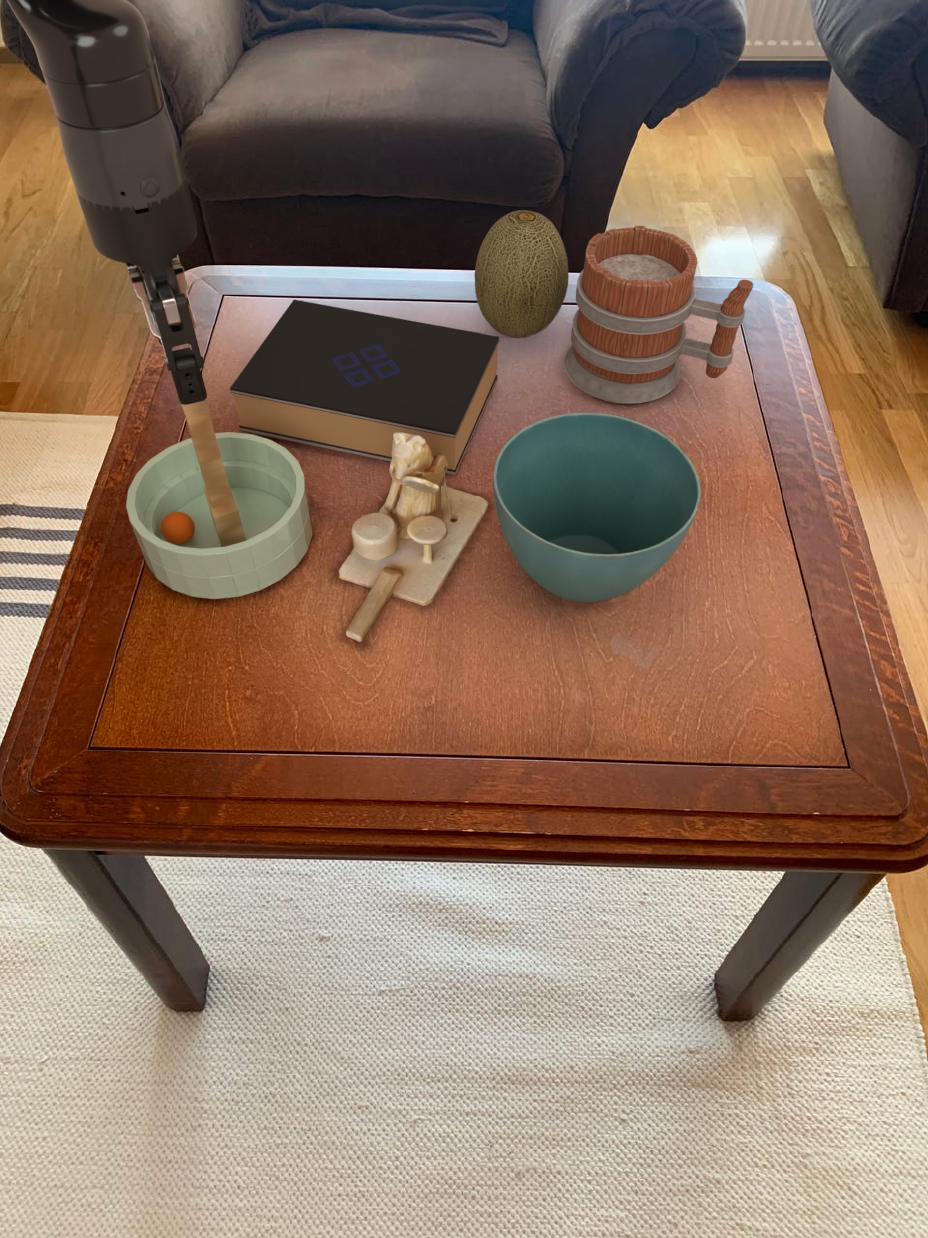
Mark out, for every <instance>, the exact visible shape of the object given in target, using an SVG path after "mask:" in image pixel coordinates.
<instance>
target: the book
mask: <svg viewBox="0 0 928 1238" xmlns="http://www.w3.org/2000/svg"><path fill="white" fill-rule="evenodd" d="M499 344H500V336H498V335H493V334H487V333H481V332H476V331H471V330H464V329H461V328H454V327H448V326H443V325H438V324H431V323H427V322H421V321H417V320H416V321H415V320H409V319H404V318H399V317H392V316H388V315H383V314H376V313H371V312H365V311H359V310H354V309H348V308H343V307H338V306H332V305H326V304H321V303H317V302H310V301H304V300H300V299H293V300H292V301H291V303H290V304H289V306H288V307H287V308H286V310H285V311H284V312H283V314H281V317H280V318H279V319H278V321H276V323H275V325H274V326H273V327H272V328H271V331H270V332H269V333H268V334H267V336H266V337H265V338H264V340H263V341H262V342H261V344H260V345H259V347H258V348H257V350H256V351H255V352H254V353H253V355H252V356H251V358H250V359H249V361H248V362H247V364H246V365H245V366H244V368H243V369H242V371H241V372H240V373H239V375H238V376H237V377H236V379H235V380H234V382H233V383H232V384H231V386H230V387H229V391H230V393H231V394H232V395H233V400H234V404H235V408H236V413H237V417H238V421H239V425H238V428H239V432H243V433H247V434H253V435H257V436H261V437H262V436H263V437H268V438H272V439H277V440H281V441H287V442H291V443H296V444H300V445H304V446H305V445H306V446H310V447H315V448H320V449H325V450H330V451H335V452H338V453H339V452H340V453H344V454H348V455H349V454H350V455H352V456H353V455H354V456H359V457H364V458H369V459H373V460H377V461H378V460H379V461H383V462H387V463H391V461H392V445H393V439H394V438H393V434H394V433H395V432H400V431H401V432H406V433H408V434H415V435H419V436H421V437H423V438H424V439H425V440H426V442H427V444H428V445H429V447H430V448H431V451H432V453H433V455H434V456H436V455H437V454H439V453H442V454H443V455H445V457H446V459H447V462H448V467H447V472H446V474H445V475H449V476H454V477H456V476H457V473H458V471H459V469H460V466H461V464H462V461H463V460H464V457H465V455H466V454H467V451H468V448H469V446H470V444H471V441H472V439H473V437H474V434H475V432H476V430H477V428H478V426H479V423H480V421H481V419H482V416H483V415H484V411H485V410H486V407H487V405H488V404H489V403H488V402H489V400H490V398H491V395H492V394H493V391H494V389H495V386H496V384H497V382H498V380H499V378H498V377H499V375H498V374H497V370H498V346H499Z"/></svg>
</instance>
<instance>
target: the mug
mask: <svg viewBox="0 0 928 1238" xmlns="http://www.w3.org/2000/svg"><path fill="white" fill-rule="evenodd" d="M697 267H698V256H697V255H696V252H695V251H694V249H693V248H692V247H691V246H690V244H688V243H687V242H686V241H685V240H684V239H683V238H681V237H679V236H678V235H675V234H673V233H670V232H666V231H662V230H659V229H655V228H648V227H646V225H639V224H638V225H636V224H635V225H634V226H633V227H632V226H631V227H621V228H615V227H614V228H611V229H606V230H605V232H603V233H600V232H598V233H597V234H595V235H594V236H592V237H591V239H589V241H588V244H587V247H586V249H585V257H584V265H583V269H582V270H581V271H580V273H579V275H578V276H577V279H576V290H575V302H576V306H577V307H578V309H577V311H576V312H575V313H574V316H573V318H572V324H571V330H570V331H571V332H570V340H571V343H572V345H570V347H569V348H568V350H567V351H566V353H565V356H564V359H563V368H564V370H565V373H566V375H567V377H568V378H569V381H571V382H572V383H573V385H574V386H576V387H577V388H578V389H579V390H581V391H582V392H583V393H585V394H586V395H589V396H590V397H593V398H595V399H597V400H600V401H603V402H605V403H610V404H616V405H640V404H645V403H650V402H652V401H655V400H658V399H660V398H663V397H664V396H666V395H667V394H669V393H671V392H672V391H673V390H674V389H675V388H676V387H677V385H678V384H679V382H680V381H681V377H682V365H681V363H680V360H679V358H680V357H681V355H683V356H687V357H691V358H695V359H699V360H703V361H706V368H705V374H706V377H708V378H711V379H717V378H719V377H720V376H722V375H723V374H724V373H725V372H726V371H727V370H728V367H730V366H731V364H732V362H733V359H734V348H733V346H734V343H735V341H736V337H737V332H738V330H739V328H740V326H741V325H742V324H743V323H744V318H745V316H746V309H745V307H744V306H745V303H746V301H747V299H748V298H749V296H750V294H751V292H752V290H753V289H754V283H753V282H752V281H751V280H749V279H745V278H744V279H740V280H739V281H738V282H737V285H736V287H734V288H733V289H732V290H731V291H730V292H729V293H728V296H727V297H726V298H724V300H723V301H722V303H719V302H714V301H711V300H705V299H700V298H697V297H696V295H697V292H696V291H697V290H696V285H695V284H694V281H695V275H696V270H697ZM690 316H695V317H699V318H705V319H707V320H713V321H716V326H715V331H714V334H713V337H712V340H711V343H708V342H704V341H700V340H696V339H692V338H688V337H687V326H686V323H685V322H686V321H687V320H688V319H689V318H690Z"/></svg>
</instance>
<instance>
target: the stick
mask: <svg viewBox="0 0 928 1238" xmlns="http://www.w3.org/2000/svg"><path fill="white" fill-rule="evenodd" d="M181 408H182V410H183V414H184V417H185V421H186V424H187V428H188V431H189V435H190V438H191V439H192V442H193V445H194V449H195V452H196V456H197V459H198V463H199V466H200V469H201V473H202V476H203V480H204V483H205V486H204V487H203V489H204V492H205V496H206V499H207V502H208V506H209V509H210V513H211V516H212V519H213V523H214V526H215V529H216V532H217V534H218V537H219V540H220V543H221V546H222V547H226V546H229V545H233V544H236V543H240V542H244V541H246V538H245V534H244V530H243V526H242V522H241V519H240V515H239V511H238V508H237V505H236V503H235V500H234V497H233V495H232V492H231V489H230V486H229V484H228V481H227V477H226V474H225V470H224V466H223V462H222V458H221V455H220V451H219V447H218V443H217V439H216V436H215V433H216V432H215V428H214V425H213V421H212V417H211V413H210V410H209V408H208V405H207V402H206V399H205V400H204V401H201V402H197V403H192V404H188V405H183V404H181Z"/></svg>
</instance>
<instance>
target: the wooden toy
mask: <svg viewBox="0 0 928 1238" xmlns="http://www.w3.org/2000/svg"><path fill="white" fill-rule="evenodd" d="M393 438H394V439H393V445H392V461H391V462H389V469H388V470H389V474H390V476H391V479H392V481H391V485H390V488H389V491H388V494H387V497H386V500H385V502H384V504H383V505H382V506H381V508H380V509H379V511H378V512H377V511H373V512H369V513H365V514H364V515H361V516H359V517H358V518H357V519H355V521H354V523H353V524H352V527H351V537H352V542H353V549H352V550H351V551H350V554H349V555H348V556H347V558H345V560H344V562H343V563H342V564H341V566H340V567H339V569H338V578H339V579H340V580H343V581H347V582H350V583H352V584H355V585H359V586H361V587H364V588H367V589H369V592H368V593H367V595H366V597H365V598H364V600H363V602H362V603H361V605H360V606H359V608H358V610H357V612H356V613H355V615H354V616H353V617H352V619H351V621H350V623H348V627H347V628H346V629H345V635H346V637H348V638H349V639H352V640H354V641H356V642H359V643H361V642H364V640H365V637H366V635H367V634H368V632H369V631H370V630H371V628H372V626H373V625H374V623H375V622H376V620H377V619H378V616H379V614H380V613H381V612H382V611H383V609H384V606H385V604H386V603H387V602H388V601H390V598H391V597H394V598H398V599H401V600H404V601H407V602H410V603H414V604H417V605H419V606H422V607H425V606H428V605H430V604H431V603H433V602H434V600H435V598H436V596H437V595H438V593H439V592H440V590H441V588H442V587H443V585H444V584H445V582H446V580H447V578H448V576H449V575H450V573H451V571H452V569H453V568H454V566H455V565H456V563H457V561H458V559H459V558H460V556H461V554H462V553H463V551H464V550H465V547H466V546H467V544H468V542H469V541H470V540H471V538H472V536H473V534H474V532H475V531H476V529H477V527H478V526H479V524H480V523H481V520H482V519H483V518H484V516H485V514H486V513H487V511H488V508H489V501H488V500H487V499H485V498H483V497H481V496H480V495H475V494H473V493H468V492H465V491H462V490H459V489H456V488H452V487H449V486H448V485H447V480H446V475H447V474H446V472H447V467H448V462H447V459H446V457H445V455H443V454H442V453H439V454H437V455H436V456H434V455H433V453H432V451H431V448H430V447H429V445H428V444H427V442H426V440H425V439H424V438H423V437H421V436H419V435H415V434H408V433H406V432H401V431H400V432H395V433H394V434H393Z"/></svg>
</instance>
